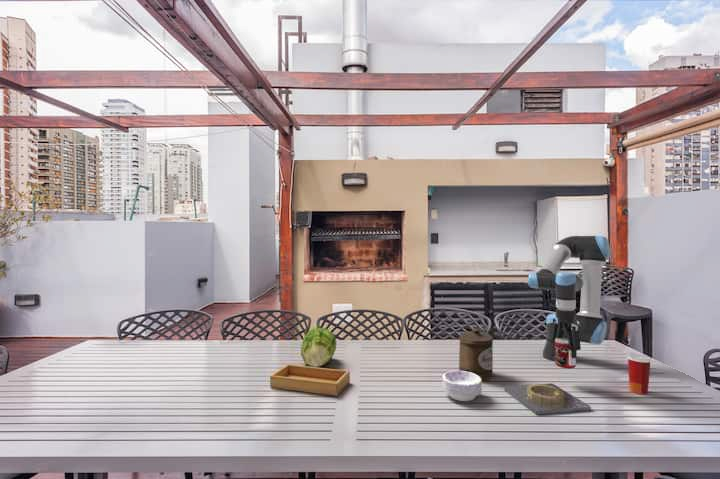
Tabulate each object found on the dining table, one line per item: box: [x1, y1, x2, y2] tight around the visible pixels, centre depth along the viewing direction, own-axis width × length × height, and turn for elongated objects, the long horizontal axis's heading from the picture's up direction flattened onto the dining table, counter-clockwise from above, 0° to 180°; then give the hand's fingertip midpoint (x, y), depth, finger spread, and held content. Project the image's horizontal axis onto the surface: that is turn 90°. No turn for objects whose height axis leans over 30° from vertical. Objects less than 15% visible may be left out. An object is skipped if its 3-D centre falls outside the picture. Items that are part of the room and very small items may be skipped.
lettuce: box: [300, 327, 337, 368], centre depth 191 cm, size 18×23×19 cm
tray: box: [269, 363, 351, 397], centre depth 165 cm, size 31×15×6 cm, turn 71°
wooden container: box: [458, 326, 494, 382], centre depth 176 cm, size 15×15×22 cm
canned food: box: [554, 338, 577, 370], centre depth 164 cm, size 8×8×11 cm
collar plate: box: [503, 382, 592, 416], centre depth 150 cm, size 22×22×4 cm
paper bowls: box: [442, 370, 483, 402], centre depth 153 cm, size 15×15×8 cm
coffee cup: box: [626, 352, 652, 396], centre depth 158 cm, size 8×8×15 cm
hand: (565, 361), depth 164 cm, fingers closed on canned food, 8 cm apart
